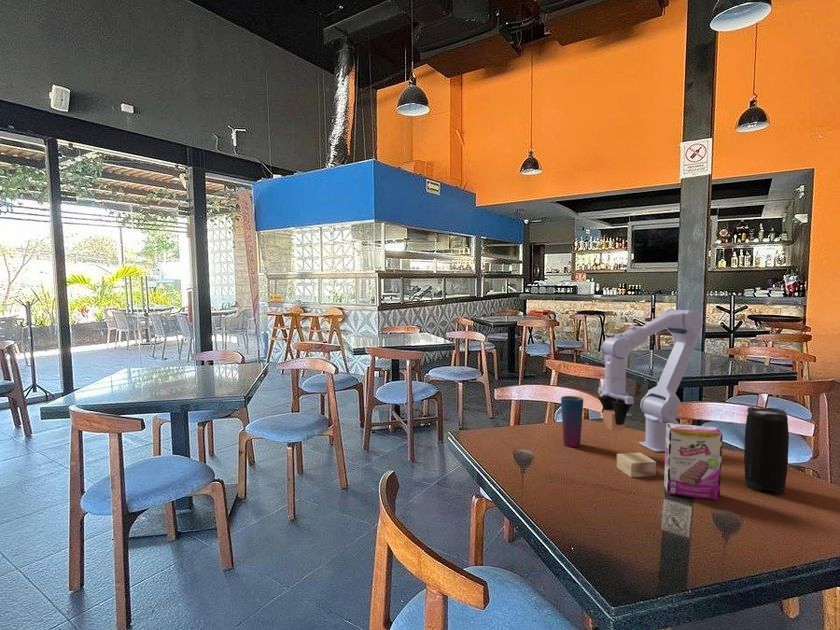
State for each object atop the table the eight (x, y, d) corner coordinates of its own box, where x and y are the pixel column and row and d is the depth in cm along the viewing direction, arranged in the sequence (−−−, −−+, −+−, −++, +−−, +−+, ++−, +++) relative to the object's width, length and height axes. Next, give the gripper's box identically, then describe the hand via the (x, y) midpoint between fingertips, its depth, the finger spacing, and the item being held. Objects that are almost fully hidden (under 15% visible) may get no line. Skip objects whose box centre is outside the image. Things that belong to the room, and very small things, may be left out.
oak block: (640, 466, 127) (640, 452, 126) (655, 476, 120) (656, 462, 119) (616, 467, 126) (616, 453, 126) (630, 478, 119) (631, 463, 119)
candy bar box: (667, 495, 108) (668, 428, 107) (663, 486, 113) (664, 422, 112) (721, 502, 105) (723, 432, 104) (715, 492, 109) (717, 426, 108)
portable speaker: (774, 481, 115) (777, 406, 114) (795, 498, 106) (798, 416, 105) (736, 478, 117) (738, 404, 116) (753, 494, 108) (756, 414, 107)
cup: (586, 448, 140) (586, 400, 140) (564, 448, 141) (564, 400, 140) (579, 441, 147) (579, 395, 147) (558, 441, 147) (558, 395, 147)
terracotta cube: (616, 425, 139) (616, 409, 139) (625, 429, 135) (625, 413, 134) (602, 426, 138) (602, 410, 138) (611, 430, 134) (611, 414, 134)
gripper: (589, 373, 142) (589, 416, 143) (618, 382, 128) (617, 430, 129) (609, 372, 143) (609, 414, 144) (640, 381, 129) (639, 428, 130)
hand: (614, 422), depth 136 cm, fingers closed on terracotta cube, 4 cm apart
